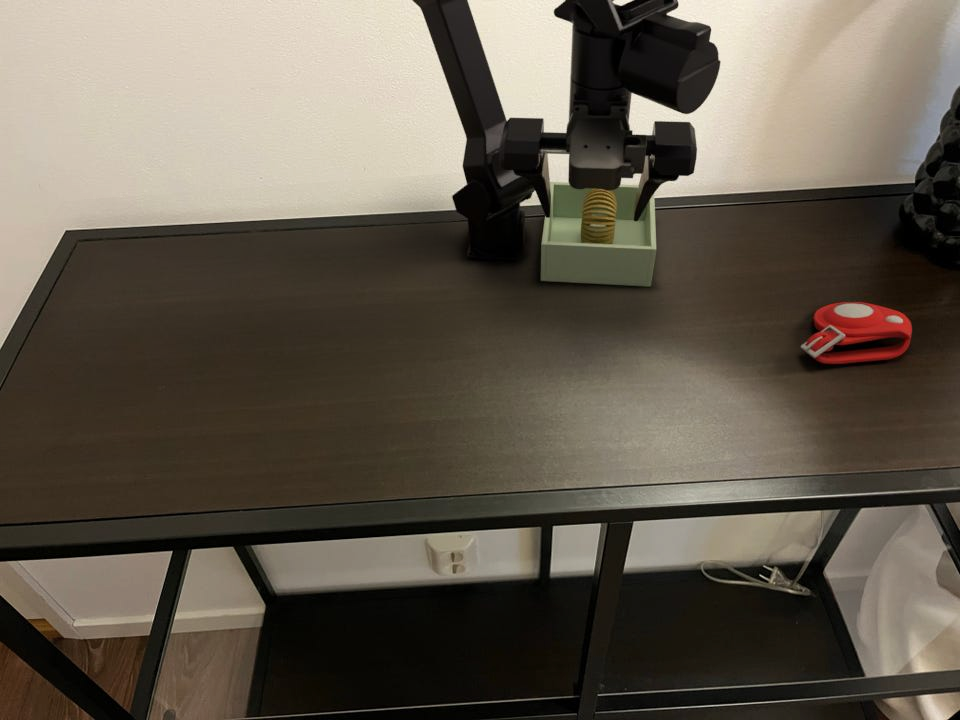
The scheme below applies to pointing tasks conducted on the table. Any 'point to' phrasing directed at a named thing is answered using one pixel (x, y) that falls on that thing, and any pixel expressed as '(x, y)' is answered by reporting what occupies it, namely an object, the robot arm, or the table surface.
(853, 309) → the tracker holder
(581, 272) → the bin
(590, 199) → the sculpture
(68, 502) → the table surface
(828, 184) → the table surface
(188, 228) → the table surface
